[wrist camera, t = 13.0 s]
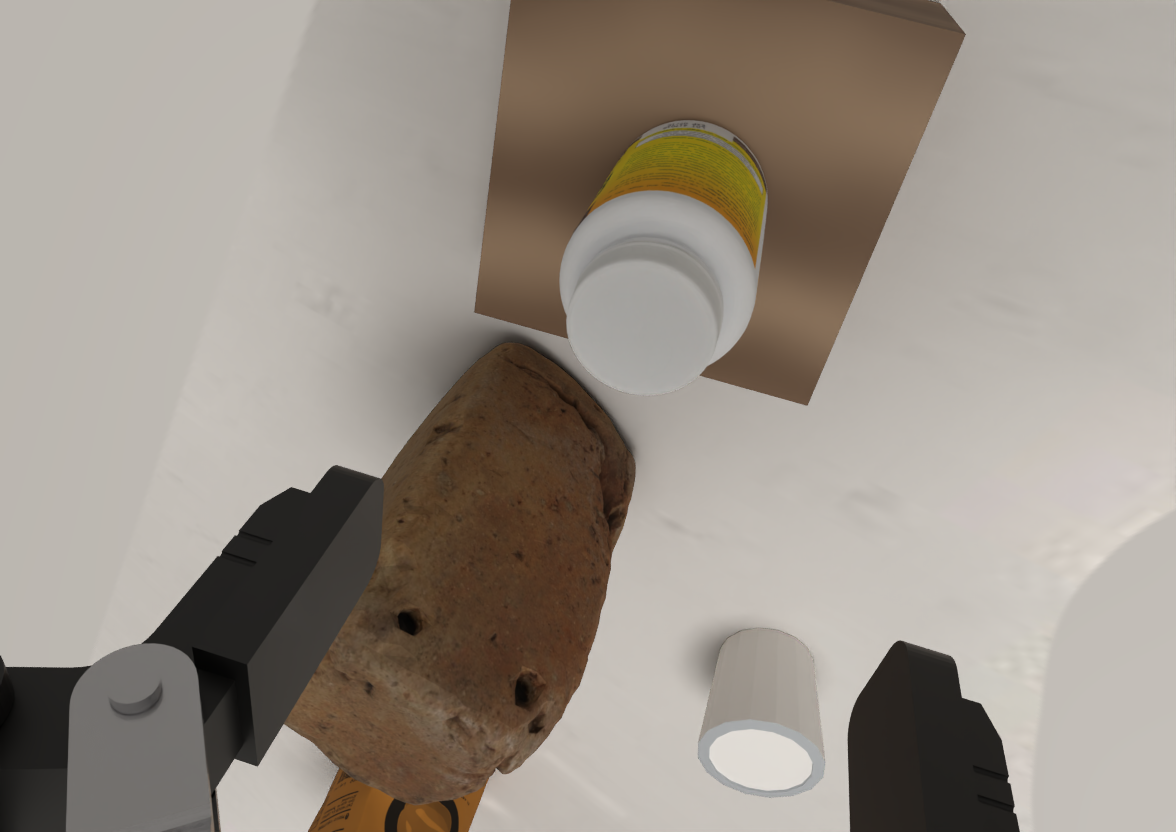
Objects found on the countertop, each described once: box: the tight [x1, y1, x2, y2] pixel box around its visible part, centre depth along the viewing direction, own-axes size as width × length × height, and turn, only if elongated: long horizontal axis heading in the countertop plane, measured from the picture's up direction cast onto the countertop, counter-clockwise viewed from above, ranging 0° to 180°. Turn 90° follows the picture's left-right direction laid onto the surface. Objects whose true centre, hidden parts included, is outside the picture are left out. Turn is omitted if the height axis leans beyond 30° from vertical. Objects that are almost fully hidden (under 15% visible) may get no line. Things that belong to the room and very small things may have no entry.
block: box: [284, 342, 636, 805], centre depth 36 cm, size 11×8×20 cm
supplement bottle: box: [559, 120, 768, 396], centre depth 25 cm, size 6×6×10 cm
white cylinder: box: [698, 628, 825, 798], centre depth 48 cm, size 7×7×7 cm
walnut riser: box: [474, 0, 966, 405], centre depth 32 cm, size 14×14×6 cm
